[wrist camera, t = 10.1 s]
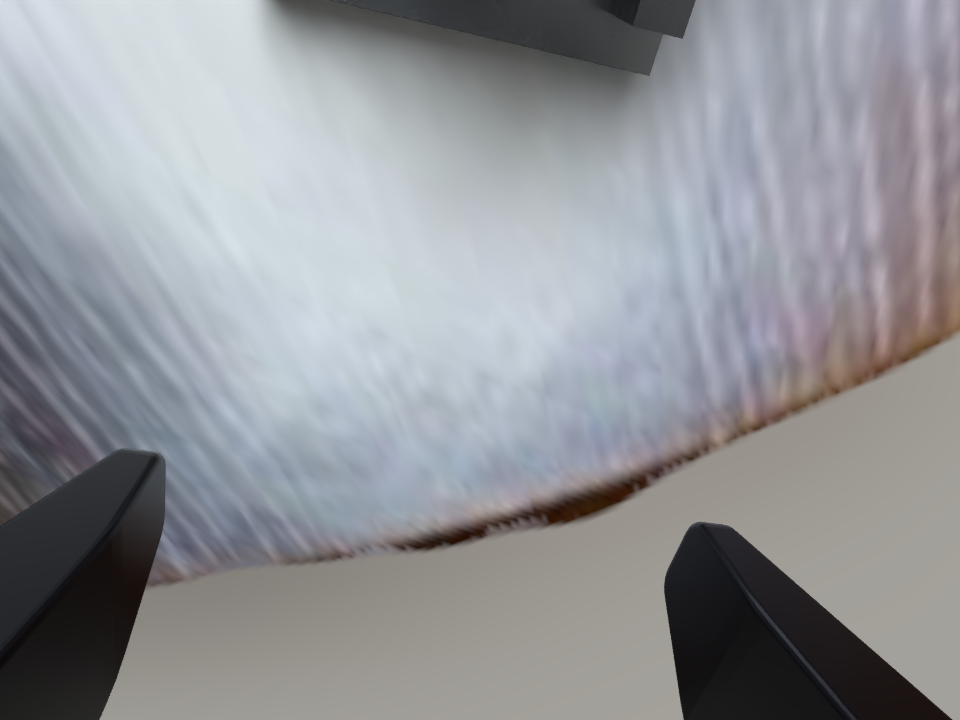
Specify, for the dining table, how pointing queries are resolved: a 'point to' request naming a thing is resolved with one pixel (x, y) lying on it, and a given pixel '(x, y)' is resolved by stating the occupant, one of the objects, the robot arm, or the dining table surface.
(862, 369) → the dining table surface
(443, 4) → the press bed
